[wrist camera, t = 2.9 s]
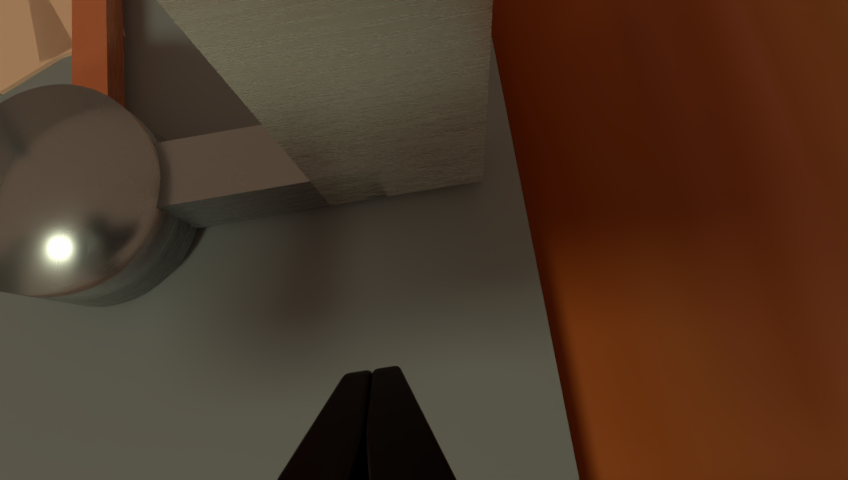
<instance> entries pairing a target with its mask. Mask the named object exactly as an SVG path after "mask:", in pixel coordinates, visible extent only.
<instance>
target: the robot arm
mask: <svg viewBox="0 0 848 480" xmlns="http://www.w3.org/2000/svg"><path fill="white" fill-rule="evenodd" d="M277 480H457V479H456V477H455V475H454V473H453V471H452V469H451V467H450V465H449V463H448V461H447V459H446V457H445V455H444V453H443V451H442V449H441V447H440V445H439V443H438V441H437V439H436V438H435V436H434V434H433V432H432V430H431V428H430V426H429V424H428V422H427V420H426V418H425V416H424V414H423V412H422V410H421V408H420V406H419V404H418V402H417V400H416V398H415V396H414V394H413V392H412V390H411V388H410V386H409V384H408V382H407V380H406V378H405V376H404V374H403V372H402V370H401V368H400V367H399V366H390V367H383V368H377V369H375V370H374V371H373V373H372V372H371V371H369V370H364V371H357V372H351V373H347V374H345V375H344V376H343V377H342V378H341V380H340V382H339V383H338V385H337V386H336V388H335V389H334V391H333V393H332V394H331V396H330V397H329V399H328V400H327V402H326V403H325V405H324V407H323V408H322V410H321V411H320V413H319V414H318V416H317V418H316V419H315V421H314V422H313V424H312V425H311V427H310V429H309V430H308V432H307V433H306V435H305V436H304V438H303V439H302V441H301V443H300V444H299V446H298V447H297V449H296V450H295V452H294V454H293V455H292V457H291V458H290V460H289V461H288V463H287V465H286V466H285V468H284V469H283V471H282V472H281V474H280V475H279V477H278V479H277Z"/></svg>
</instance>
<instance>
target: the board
mask: <svg viewBox="0 0 848 480" xmlns="http://www.w3.org/2000/svg"><path fill="white" fill-rule="evenodd" d="M122 2H123V40H124V79H125V108H126V109H127V110H128V111H130V112H131V113H132V114H133V115H135V116H136V117H137V118H139V119H140V120H141V121H143V122H144V123H145V124H147V125H148V126H149V127H151V128H152V129H153V130H155V131H156V132H157V133H158V134H160V135H161V136H162V137H164V138H165V139H166V140H168V141H170V140H176V139H181V138H187V137H193V136H198V135H204V134H210V133H216V132H221V131H227V130H233V129H239V128H244V127H250V126H256V125H261V123H260V122H259V120H258V119H257V118H256V117H255V116H254V115H253V113H252V112H251V111H250V110H249V109H248V107H247V106H246V105H245V104H244V103H243V102H242V100H241V99H240V98H239V97H238V96H237V95H236V93H235V92H234V91H233V90H232V89H231V87H230V86H229V85H228V84H227V83H226V82H225V80H224V79H223V78H222V77H221V76H220V74H219V73H218V72H217V71H216V70H215V69H214V67H213V66H212V65H211V64H210V63H209V62H208V60H207V59H206V58H205V57H204V56H203V54H202V53H201V52H200V51H199V50H198V49H197V47H196V46H195V45H194V44H193V43H192V42H191V40H190V39H189V38H188V37H187V36H186V34H185V33H184V32H183V31H182V30H181V29H180V27H179V26H178V25H177V24H176V23H175V21H174V20H173V19H172V18H171V17H170V16H169V14H168V13H167V12H166V11H165V10H164V9H163V7H162V6H161V5H160V4H159V3H158V1H157V0H122ZM55 84H70V85H72V0H0V103H1V102H3V101H4V100H6V99H8V98H10V97H12V96H14V95H16V94H18V93H21V92H24V91H26V90H29V89H33V88H37V87H41V86H47V85H55ZM390 366H399V367H400V368H401V370H402V372H403V374H404V376H405V378H406V380H407V382H408V384H409V386H410V388H411V390H412V392H413V394H414V396H415V398H416V400H417V402H418V404H419V406H420V408H421V410H422V412H423V414H424V416H425V418H426V420H427V422H428V424H429V426H430V428H431V430H432V432H433V434H434V436H435V438H436V439H437V441H438V443H439V445H440V447H441V449H442V451H443V453H444V455H445V457H446V459H447V461H448V463H449V465H450V467H451V469H452V471H453V473H454V475H455V477H456V479H457V480H579V475H578V470H577V465H576V460H575V455H574V450H573V445H572V440H571V435H570V430H569V425H568V420H567V415H566V409H565V404H564V399H563V394H562V389H561V384H560V379H559V374H558V369H557V364H556V359H555V354H554V349H553V344H552V339H551V334H550V329H549V323H548V318H547V313H546V308H545V303H544V298H543V293H542V288H541V283H540V278H539V273H538V268H537V263H536V258H535V253H534V248H533V243H532V237H531V232H530V227H529V222H528V217H527V212H526V207H525V202H524V197H523V192H522V187H521V182H520V177H519V172H518V167H517V162H516V157H515V151H514V146H513V141H512V136H511V131H510V126H509V121H508V116H507V111H506V106H505V101H504V96H503V91H502V86H501V81H500V76H499V70H498V65H497V60H496V55H495V50H494V45H493V40H492V35H491V46H490V63H489V81H488V98H487V116H486V134H485V151H484V169H483V181H478V182H472V183H466V184H460V185H454V186H448V187H442V188H436V189H430V190H424V191H418V192H412V193H406V194H400V195H394V196H388V197H382V198H376V199H370V200H364V201H358V202H352V203H346V204H340V205H334V206H328V207H322V208H316V209H310V210H304V211H299V212H293V213H287V214H281V215H275V216H269V217H263V218H257V219H251V220H245V221H239V222H233V223H227V224H221V225H215V226H209V227H203V228H197V229H196V232H195V236H194V238H193V240H192V243H191V245H190V247H189V249H188V251H187V253H186V255H185V256H184V258H183V259H182V261H181V262H180V263H179V265H178V266H177V268H176V269H175V270H174V271H173V272H172V273H171V274H170V275H169V276H168V277H167V278H166V279H165V280H164V281H163V282H162V283H160V284H159V285H158V286H157V287H155V288H154V289H152V290H151V291H149V292H148V293H146V294H144V295H142V296H140V297H138V298H136V299H134V300H131V301H129V302H126V303H123V304H118V305H114V306H106V307H87V306H81V305H75V304H69V303H64V302H58V301H52V300H46V299H40V298H34V297H28V296H22V295H16V294H11V293H5V292H0V480H277V479H278V477H279V475H280V474H281V472H282V471H283V469H284V468H285V466H286V465H287V463H288V461H289V460H290V458H291V457H292V455H293V454H294V452H295V450H296V449H297V447H298V446H299V444H300V443H301V441H302V439H303V438H304V436H305V435H306V433H307V432H308V430H309V429H310V427H311V425H312V424H313V422H314V421H315V419H316V418H317V416H318V414H319V413H320V411H321V410H322V408H323V407H324V405H325V403H326V402H327V400H328V399H329V397H330V396H331V394H332V393H333V391H334V389H335V388H336V386H337V385H338V383H339V382H340V380H341V378H342V377H343V376H344V375H345V374H347V373H351V372H357V371H364V370H369V371H371V372H372V373H373V371H374V370H375V369H377V368H383V367H390Z"/></svg>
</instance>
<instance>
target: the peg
mask: <svg viewBox="0 0 848 480" xmlns="http://www.w3.org/2000/svg"><path fill="white" fill-rule="evenodd" d="M157 1H158V3H159V4H160V5H161V6H162V7H163V9H164V10H165V11H166V12H167V13H168V14H169V16H170V17H171V18H172V19H173V20H174V21H175V23H176V24H177V25H178V26H179V27H180V29H181V30H182V31H183V32H184V33H185V34H186V36H187V37H188V38H189V39H190V40H191V42H192V43H193V44H194V45H195V46H196V47H197V49H198V50H199V51H200V52H201V53H202V54H203V56H204V57H205V58H206V59H207V60H208V62H209V63H210V64H211V65H212V66H213V67H214V69H215V70H216V71H217V72H218V73H219V74H220V76H221V77H222V78H223V79H224V80H225V82H226V83H227V84H228V85H229V86H230V87H231V89H232V90H233V91H234V92H235V93H236V95H237V96H238V97H239V98H240V99H241V100H242V102H243V103H244V104H245V105H246V106H247V107H248V109H249V110H250V111H251V112H252V113H253V115H254V116H255V117H256V118H257V119H258V120H259V122H260V123H261V125H256V126H250V127H244V128H239V129H233V130H227V131H221V132H216V133H210V134H204V135H198V136H193V137H187V138H181V139H176V140H170V141H168V140H166V139H165V138H164V137H162V136H161V135H160V134H158V133H157V132H156V131H155V130H153V129H152V128H151V127H149V126H148V125H147V124H145V123H144V122H143V121H141V120H140V119H139V118H137V117H136V116H135V115H133V114H132V113H131V112H130V111H128V110H127V109H126V108H125V79H124V40H123V2H122V0H72V85H70V84H55V85H47V86H41V87H37V88H33V89H29V90H26V91H24V92H21V93H18V94H16V95H14V96H12V97H10V98H8V99H6V100H4V101H3V102H1V103H0V292H5V293H11V294H16V295H22V296H28V297H34V298H40V299H46V300H52V301H58V302H64V303H69V304H75V305H81V306H87V307H106V306H114V305H118V304H123V303H126V302H129V301H131V300H134V299H136V298H138V297H140V296H142V295H144V294H146V293H148V292H149V291H151V290H152V289H154V288H155V287H157V286H158V285H159V284H160V283H162V282H163V281H164V280H165V279H166V278H167V277H168V276H169V275H170V274H171V273H172V272H173V271H174V270H175V269H176V268H177V266H178V265H179V263H180V262H181V261H182V259H183V258H184V256H185V255H186V253H187V251H188V249H189V247H190V245H191V243H192V240H193V238H194V236H195V232H196V229H197V228H203V227H209V226H215V225H221V224H227V223H233V222H239V221H245V220H251V219H257V218H263V217H269V216H275V215H281V214H287V213H293V212H299V211H304V210H310V209H316V208H322V207H328V206H334V205H340V204H346V203H352V202H358V201H364V200H370V199H376V198H382V197H388V196H394V195H400V194H406V193H412V192H418V191H424V190H430V189H436V188H442V187H448V186H454V185H460V184H466V183H472V182H478V181H483V169H484V151H485V134H486V116H487V98H488V81H489V63H490V46H491V28H492V11H493V0H157Z"/></svg>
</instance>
